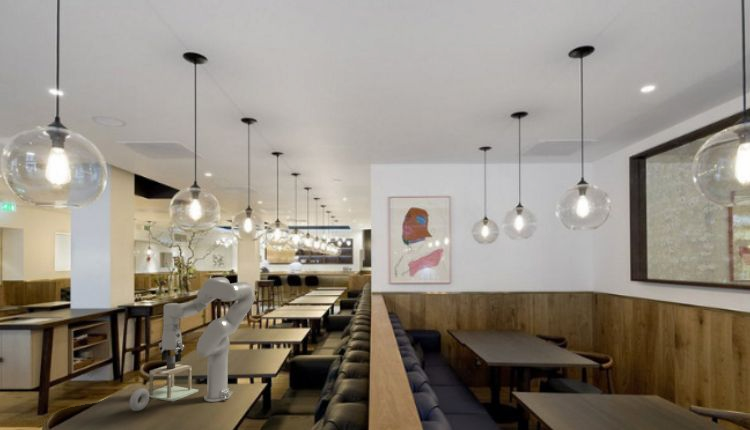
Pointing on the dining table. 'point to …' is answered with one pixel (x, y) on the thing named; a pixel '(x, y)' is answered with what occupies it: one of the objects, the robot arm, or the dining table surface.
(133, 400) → the donut
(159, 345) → the robot arm
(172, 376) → the miniature stool
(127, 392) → the dining table surface
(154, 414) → the dining table surface
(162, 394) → the mat
